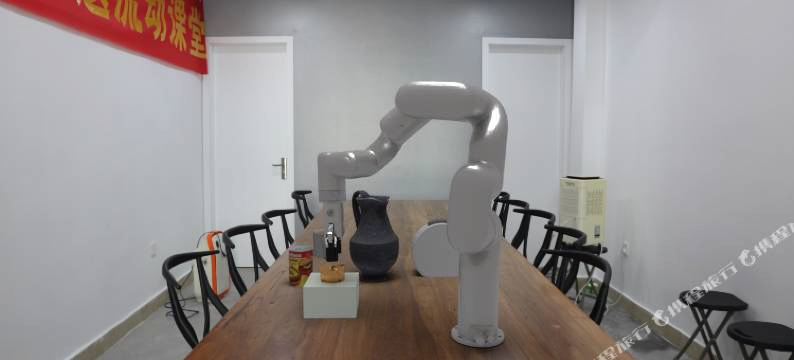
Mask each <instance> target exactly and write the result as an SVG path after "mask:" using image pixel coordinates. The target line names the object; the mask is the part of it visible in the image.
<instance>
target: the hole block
mask: <svg viewBox="0 0 794 360" xmlns="http://www.w3.org/2000/svg"><path fill="white" fill-rule="evenodd" d="M359 286H360V272H355V271H354V272H353V271H352V272H345V280H344V281H342V282H338V283H324V282H322V281H321V280H320V272H313V273H311V274H310V276H309V278H308V280H307V281H306V283H305V285H304V287H302V290H303V291H302V295H303V298H302V299H303V301H302V303H303V319H357V315H358V309H359V303H360V287H359Z"/></svg>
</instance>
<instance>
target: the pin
mask: <svg viewBox="0 0 794 360" xmlns="http://www.w3.org/2000/svg"><path fill="white" fill-rule="evenodd" d="M345 266H346V265H345V263H342V262H338V261H337V262H325V263H322V264H321V265H319V267H320V268H319V269H320V272H319V273H320V280H321V281H322V282H324V283H338V282H342V281H344V280H345V273H346V267H345Z"/></svg>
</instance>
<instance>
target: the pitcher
mask: <svg viewBox="0 0 794 360" xmlns="http://www.w3.org/2000/svg"><path fill="white" fill-rule="evenodd" d="M351 197H352V198H351V207H352V214H353V218H354V222H355V227H356V230H355V232H354V234H353V235H352V236H351V237H350V239H349V245H348V247H349V249H348V250H349V257H350V259H351V261H352V262H353V264H354V267H356V269H358V270H359V271H360V272H361V273H362V274H361V275H360V279H361V280H362V279H363V281H365V282H371V281H375V282H383V281H385V280H388V279H389V277H390V276H389V274H388V271H390V270H391V268H393V266H394V265H395V264H396V262H397V260H398V258H399V253H400V239H399V236H398V235H397V234H396V233H395V231H394V230H393V227H392V224H391V222H390V221H391V220H390V217H389V215H388V210H387V207H388V204H389V203H390V200H389V199H390V198H391V197H390V195H373V194H371V195H370V194H369V192H368V191H366V190H361V189H360V190H356V191H354V192H353V194H352V196H351Z"/></svg>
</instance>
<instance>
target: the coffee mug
mask: <svg viewBox="0 0 794 360" xmlns="http://www.w3.org/2000/svg"><path fill="white" fill-rule="evenodd" d="M312 239H313V240H312V244H313V245H312V247H313V257H316V258H322V259H324V258H325V259H326V238H325V237H324V228H321V229H315V230H313V231H312Z"/></svg>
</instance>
